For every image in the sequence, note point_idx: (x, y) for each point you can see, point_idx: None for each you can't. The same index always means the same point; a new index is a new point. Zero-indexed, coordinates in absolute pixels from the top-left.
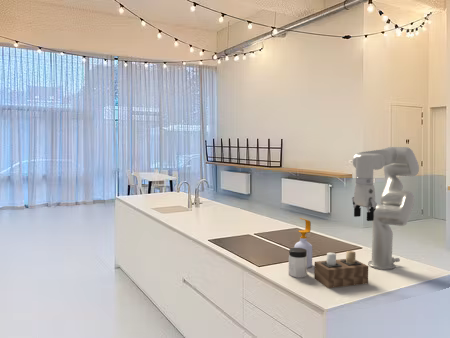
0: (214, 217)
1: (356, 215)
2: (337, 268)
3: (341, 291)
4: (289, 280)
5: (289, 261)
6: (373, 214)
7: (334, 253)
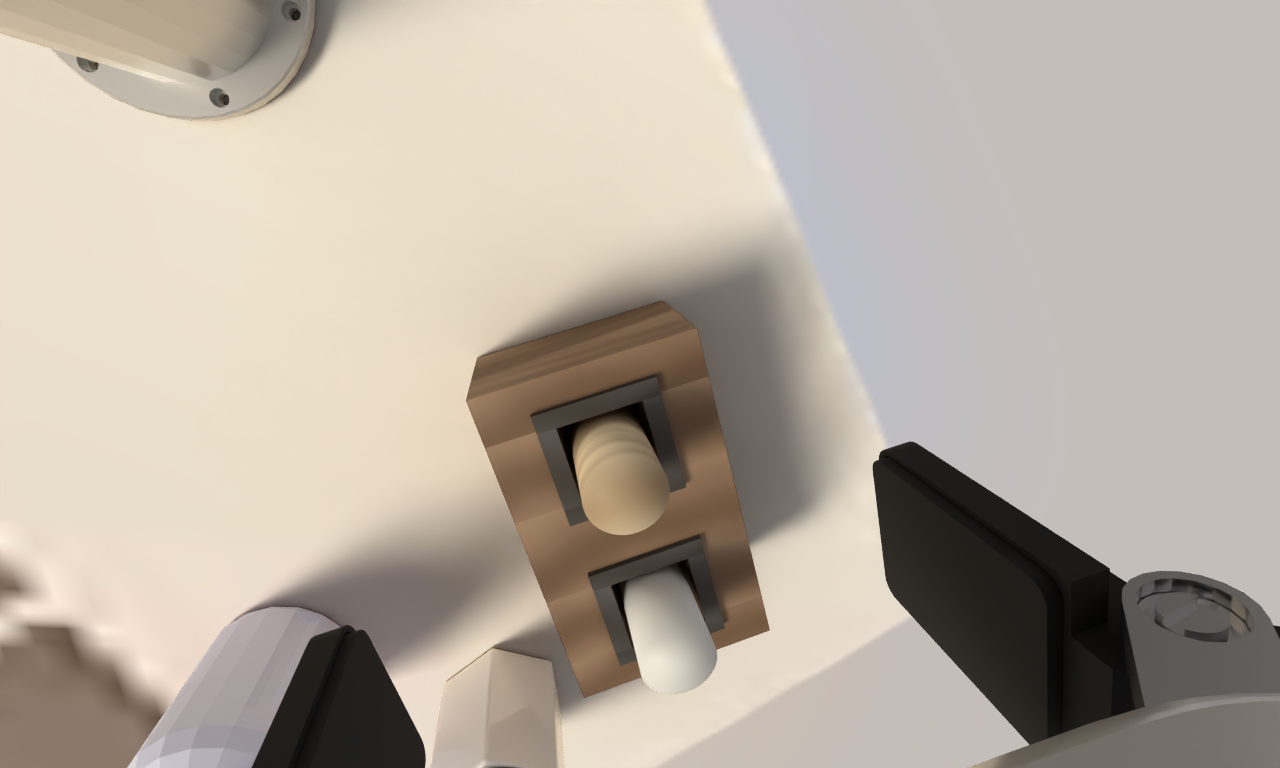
0: None
1: (409, 745)
2: (740, 570)
3: (777, 495)
4: (606, 733)
5: None
6: (1029, 524)
7: (666, 638)
